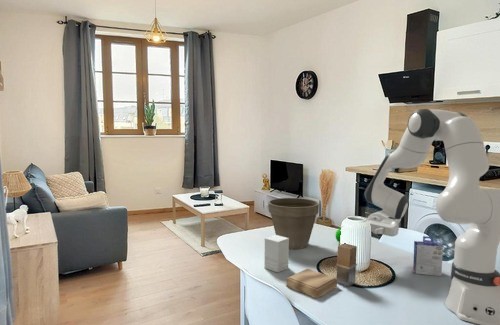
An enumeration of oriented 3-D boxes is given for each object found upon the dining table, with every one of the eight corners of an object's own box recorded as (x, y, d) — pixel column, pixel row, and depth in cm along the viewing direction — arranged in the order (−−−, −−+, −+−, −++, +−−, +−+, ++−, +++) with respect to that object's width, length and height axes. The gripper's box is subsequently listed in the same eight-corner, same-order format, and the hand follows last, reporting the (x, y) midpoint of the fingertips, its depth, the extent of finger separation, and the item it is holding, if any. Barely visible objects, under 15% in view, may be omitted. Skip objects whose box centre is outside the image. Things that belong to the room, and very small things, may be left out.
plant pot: (256, 243, 175) (257, 200, 173) (289, 234, 191) (290, 195, 189) (295, 257, 156) (296, 209, 154) (327, 245, 173) (329, 202, 171)
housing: (355, 282, 130) (357, 246, 129) (348, 287, 126) (350, 249, 125) (342, 278, 134) (344, 242, 133) (335, 282, 130) (337, 246, 129)
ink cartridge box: (437, 271, 143) (440, 236, 142) (442, 276, 138) (444, 240, 136) (411, 268, 145) (414, 234, 144) (415, 274, 140) (417, 238, 138)
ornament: (347, 241, 181) (348, 222, 180) (354, 246, 173) (355, 226, 172) (332, 241, 180) (333, 222, 179) (338, 246, 172) (339, 226, 171)
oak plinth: (336, 286, 127) (337, 277, 126) (316, 298, 117) (317, 289, 117) (307, 276, 136) (307, 267, 135) (286, 286, 126) (286, 277, 126)
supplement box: (289, 268, 143) (289, 238, 142) (277, 273, 138) (278, 242, 137) (275, 263, 148) (275, 234, 147) (263, 268, 143) (264, 237, 142)
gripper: (355, 211, 154) (339, 216, 144) (402, 220, 140) (388, 226, 130) (354, 225, 155) (338, 231, 145) (401, 235, 141) (387, 243, 131)
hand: (362, 229), depth 138 cm, fingers open, 8 cm apart
